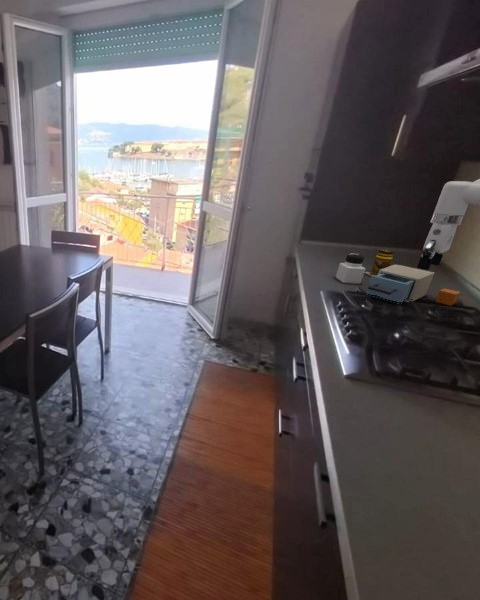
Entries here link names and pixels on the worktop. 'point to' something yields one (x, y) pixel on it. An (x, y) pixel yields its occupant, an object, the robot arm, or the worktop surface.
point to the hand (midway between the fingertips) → (427, 266)
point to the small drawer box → (419, 275)
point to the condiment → (381, 261)
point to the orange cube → (447, 296)
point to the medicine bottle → (351, 269)
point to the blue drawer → (390, 287)
